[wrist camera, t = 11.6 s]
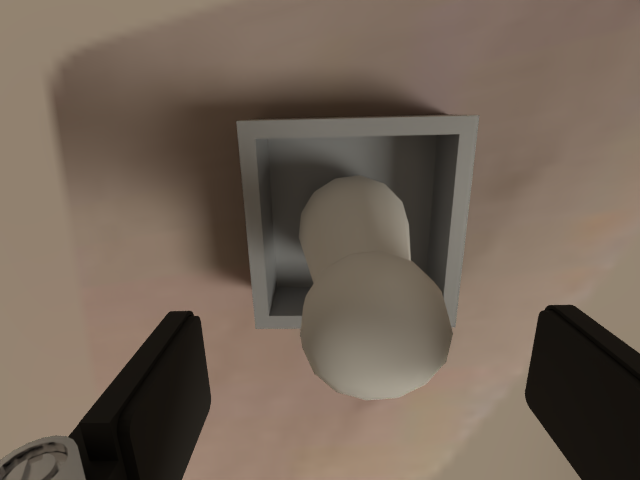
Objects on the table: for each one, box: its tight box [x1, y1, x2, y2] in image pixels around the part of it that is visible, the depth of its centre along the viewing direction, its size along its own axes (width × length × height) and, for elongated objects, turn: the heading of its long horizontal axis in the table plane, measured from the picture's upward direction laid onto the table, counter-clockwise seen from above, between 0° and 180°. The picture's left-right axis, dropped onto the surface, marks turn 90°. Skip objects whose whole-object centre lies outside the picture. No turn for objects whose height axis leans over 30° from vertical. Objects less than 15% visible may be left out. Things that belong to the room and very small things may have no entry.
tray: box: [236, 115, 479, 329], centre depth 21 cm, size 11×11×4 cm
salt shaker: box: [299, 175, 453, 400], centre depth 16 cm, size 6×6×13 cm
